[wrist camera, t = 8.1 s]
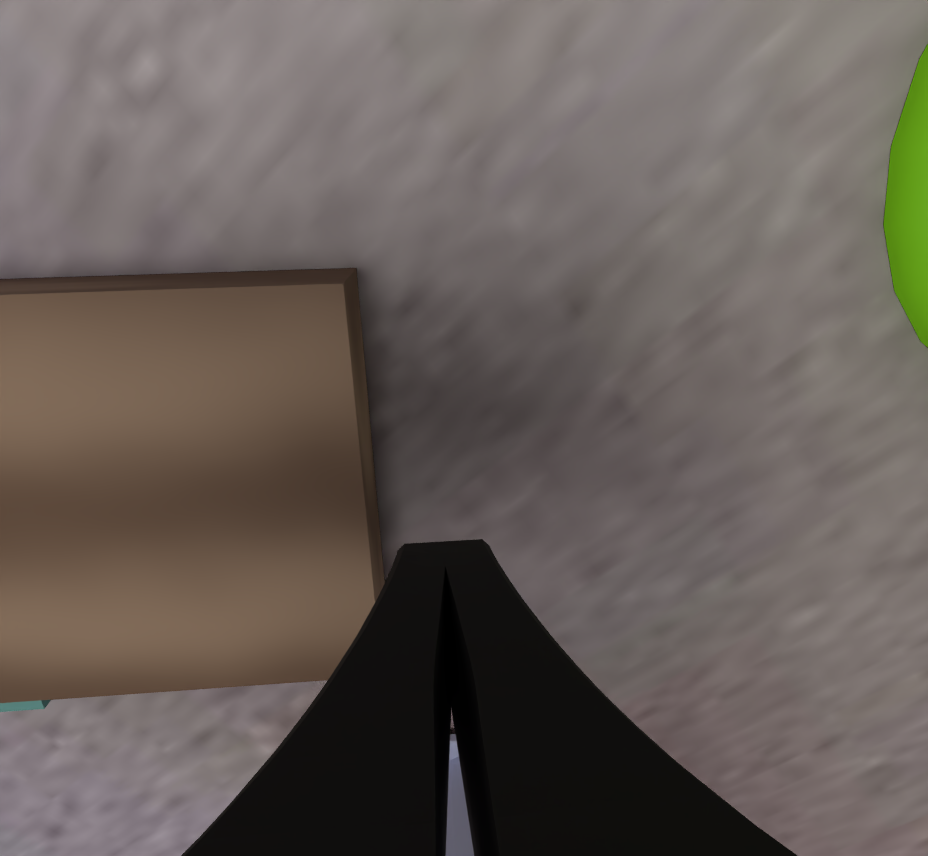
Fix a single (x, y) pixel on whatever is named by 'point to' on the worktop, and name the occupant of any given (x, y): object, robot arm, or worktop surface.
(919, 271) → the wineglass
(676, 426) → the worktop surface
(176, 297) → the brown flat slab
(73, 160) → the worktop surface
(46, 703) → the mat
